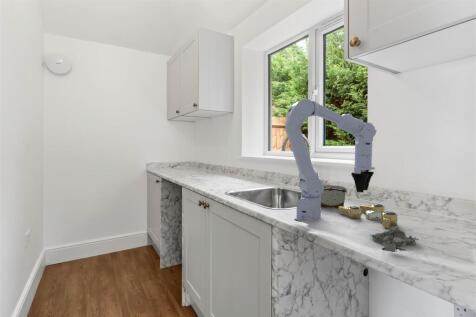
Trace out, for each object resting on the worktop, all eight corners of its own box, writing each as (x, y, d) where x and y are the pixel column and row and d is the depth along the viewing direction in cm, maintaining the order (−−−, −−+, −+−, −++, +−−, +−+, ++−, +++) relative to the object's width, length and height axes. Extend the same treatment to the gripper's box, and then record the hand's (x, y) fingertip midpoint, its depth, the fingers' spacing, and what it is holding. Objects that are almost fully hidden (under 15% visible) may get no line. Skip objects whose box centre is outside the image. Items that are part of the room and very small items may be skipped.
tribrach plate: (408, 239, 74) (408, 226, 74) (327, 222, 90) (327, 212, 89) (417, 220, 92) (417, 210, 92) (349, 209, 108) (349, 201, 108)
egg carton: (398, 240, 74) (399, 226, 74) (421, 250, 67) (422, 235, 67) (367, 242, 72) (367, 228, 72) (387, 253, 65) (388, 238, 65)
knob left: (363, 218, 91) (363, 207, 91) (355, 220, 89) (355, 209, 89) (343, 212, 99) (343, 203, 98) (336, 214, 96) (336, 204, 96)
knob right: (383, 221, 88) (383, 210, 88) (398, 223, 85) (398, 212, 85) (377, 227, 81) (378, 215, 81) (393, 230, 79) (394, 217, 78)
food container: (344, 208, 110) (345, 185, 110) (346, 212, 104) (347, 188, 104) (315, 206, 114) (315, 184, 113) (315, 209, 108) (316, 186, 107)
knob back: (385, 214, 96) (385, 204, 96) (382, 217, 93) (383, 206, 92) (361, 210, 101) (361, 201, 101) (358, 213, 98) (358, 203, 98)
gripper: (370, 156, 86) (368, 195, 87) (379, 154, 97) (378, 189, 98) (348, 155, 91) (347, 192, 91) (360, 154, 102) (359, 187, 102)
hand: (362, 191), depth 95 cm, fingers open, 5 cm apart
